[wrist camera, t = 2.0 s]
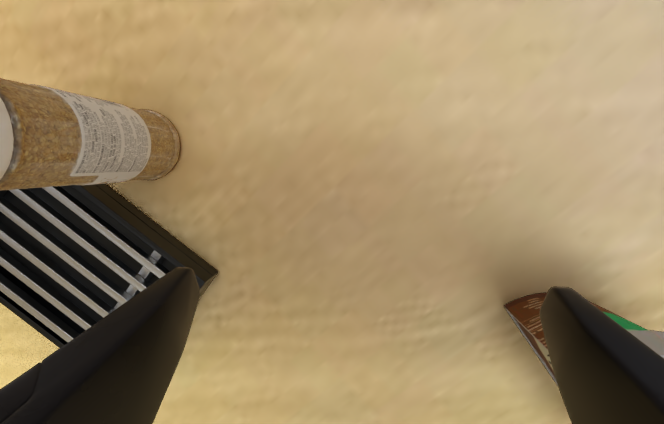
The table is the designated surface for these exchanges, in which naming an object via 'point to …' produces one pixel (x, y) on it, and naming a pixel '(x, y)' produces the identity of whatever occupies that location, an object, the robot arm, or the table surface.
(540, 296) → the food container
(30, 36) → the table surface
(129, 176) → the sprinkles bottle
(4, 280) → the dish rack
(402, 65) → the table surface
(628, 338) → the robot arm
